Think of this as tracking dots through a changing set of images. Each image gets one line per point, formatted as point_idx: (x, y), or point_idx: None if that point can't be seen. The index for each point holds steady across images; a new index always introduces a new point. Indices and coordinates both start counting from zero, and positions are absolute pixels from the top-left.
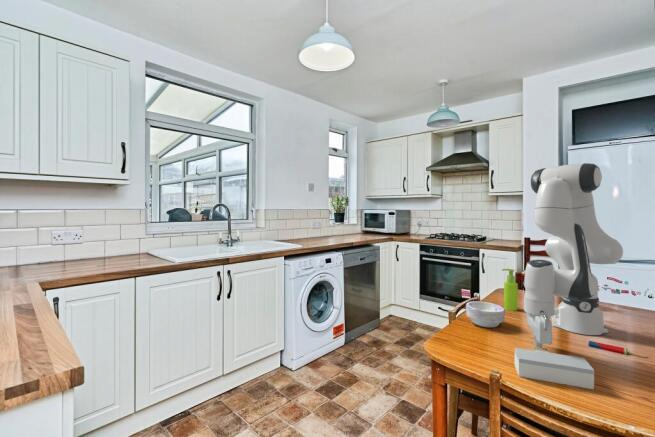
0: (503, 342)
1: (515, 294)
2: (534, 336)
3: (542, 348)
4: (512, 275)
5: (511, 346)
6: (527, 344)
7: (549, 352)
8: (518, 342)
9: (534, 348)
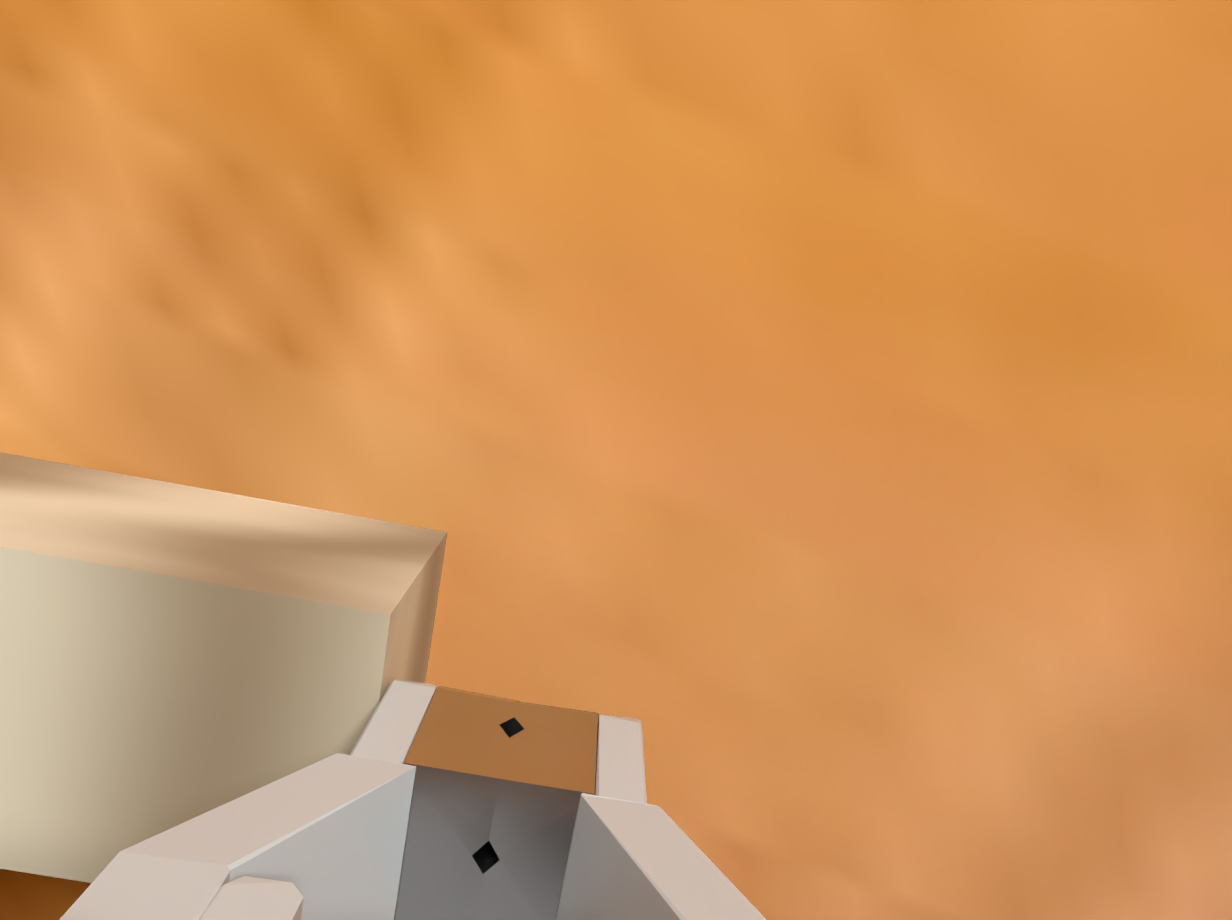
0: (1108, 12)
1: None
2: (658, 907)
3: None
4: None
5: (840, 157)
6: (1026, 622)
7: (57, 873)
8: (1137, 449)
9: (208, 585)
